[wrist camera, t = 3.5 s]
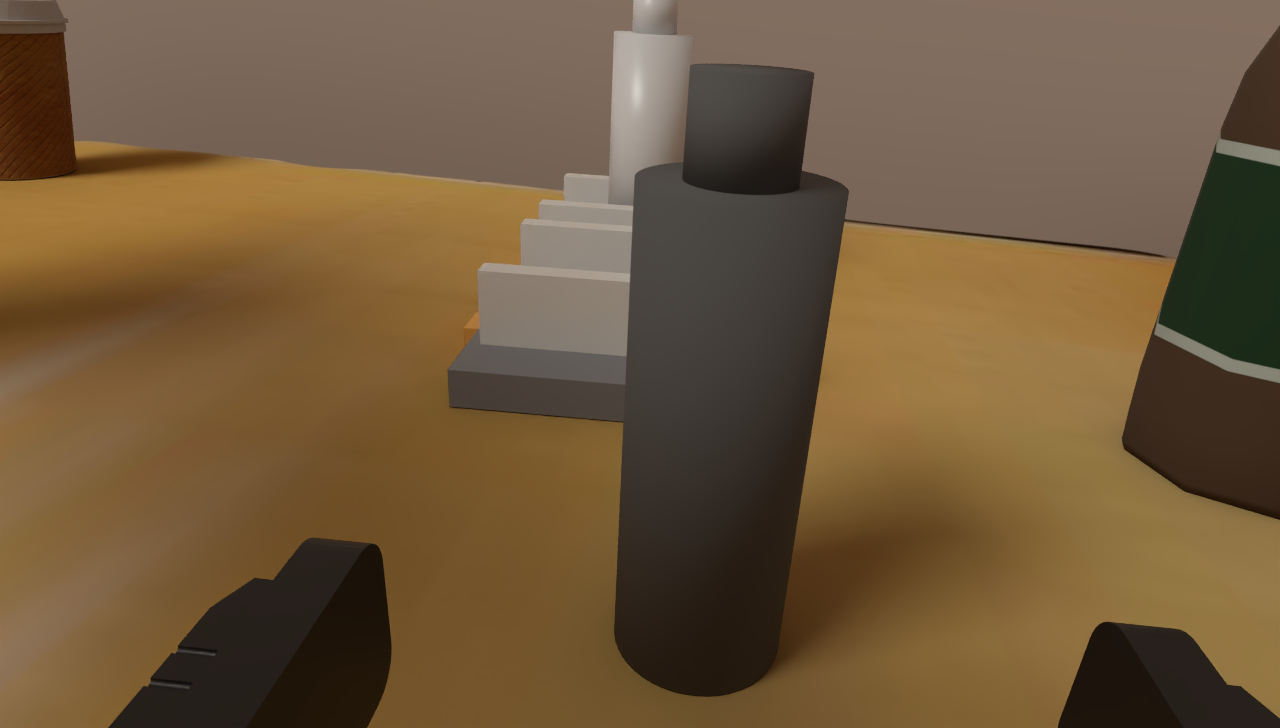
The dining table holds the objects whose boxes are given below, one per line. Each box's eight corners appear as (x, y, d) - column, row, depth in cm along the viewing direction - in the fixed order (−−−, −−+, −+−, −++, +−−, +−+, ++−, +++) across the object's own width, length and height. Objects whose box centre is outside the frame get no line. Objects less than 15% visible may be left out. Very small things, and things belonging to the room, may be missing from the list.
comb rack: (748, 432, 29) (762, 316, 27) (433, 405, 30) (426, 289, 28) (737, 248, 51) (744, 176, 49) (556, 235, 51) (556, 164, 50)
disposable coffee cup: (-88, 177, 57) (-149, -8, 52) (35, 155, 66) (-7, -5, 61) (17, 190, 55) (-35, -1, 50) (131, 167, 64) (96, 1, 59)
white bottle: (591, 245, 44) (598, -14, 39) (638, 233, 47) (651, -11, 42) (646, 262, 42) (662, -11, 37) (693, 248, 45) (713, -8, 39)
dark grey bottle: (580, 634, 19) (593, 62, 14) (681, 558, 22) (723, 57, 17) (714, 726, 17) (791, 84, 12) (808, 628, 20) (904, 75, 15)
